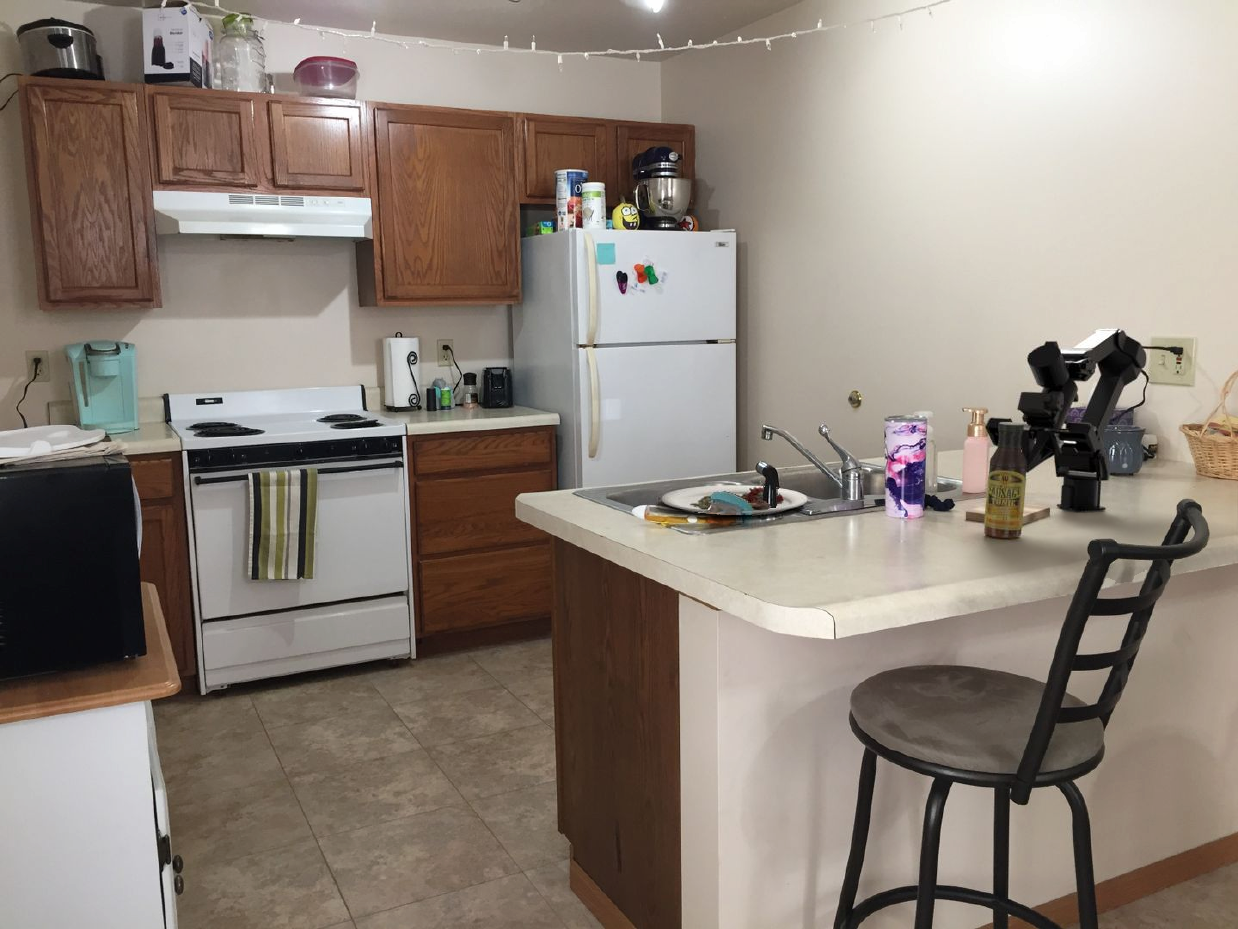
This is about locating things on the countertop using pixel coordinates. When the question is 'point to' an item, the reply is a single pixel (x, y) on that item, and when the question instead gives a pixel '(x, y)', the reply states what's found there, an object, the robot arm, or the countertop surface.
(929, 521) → the countertop surface
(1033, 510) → the oak cutting board
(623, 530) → the countertop surface
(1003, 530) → the sauce bottle
